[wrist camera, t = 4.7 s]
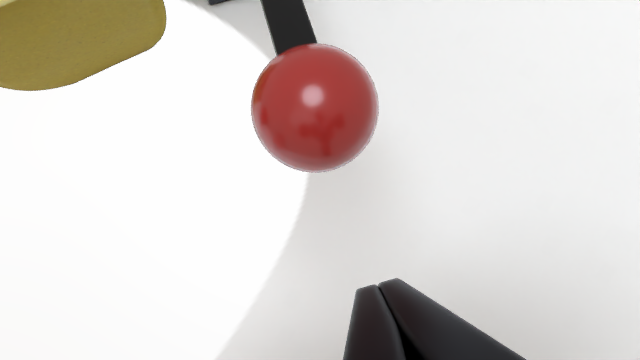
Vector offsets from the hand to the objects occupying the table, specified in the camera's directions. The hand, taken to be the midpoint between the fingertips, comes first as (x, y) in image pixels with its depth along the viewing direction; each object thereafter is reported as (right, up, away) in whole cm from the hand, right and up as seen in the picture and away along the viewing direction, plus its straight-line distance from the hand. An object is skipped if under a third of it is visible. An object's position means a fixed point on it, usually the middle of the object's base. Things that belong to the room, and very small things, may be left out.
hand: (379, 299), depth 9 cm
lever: (-3, +10, +8) cm, 13 cm away
